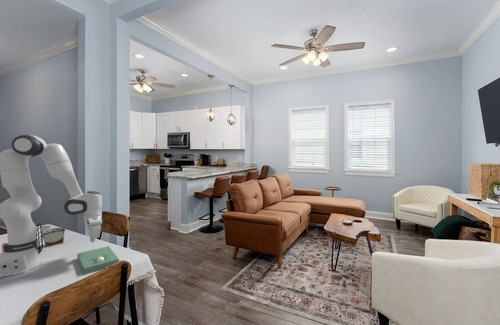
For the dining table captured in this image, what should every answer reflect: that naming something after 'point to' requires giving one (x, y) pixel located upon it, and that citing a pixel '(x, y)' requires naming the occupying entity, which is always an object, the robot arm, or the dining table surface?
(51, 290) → the dining table surface
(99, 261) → the ball
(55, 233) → the food container
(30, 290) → the dining table surface
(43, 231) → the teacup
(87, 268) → the putting board
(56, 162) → the robot arm
